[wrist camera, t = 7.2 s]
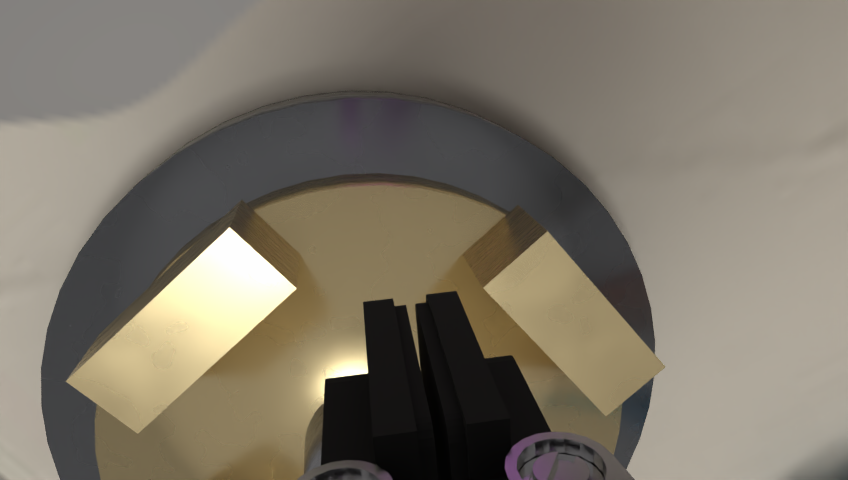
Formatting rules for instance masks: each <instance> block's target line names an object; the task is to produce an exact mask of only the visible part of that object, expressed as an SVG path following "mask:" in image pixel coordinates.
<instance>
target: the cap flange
mask: <svg viewBox="0 0 848 480" xmlns="http://www.w3.org/2000/svg"><path fill="white" fill-rule="evenodd" d="M370 173H384V174H395V175H406V176H416V177H420V178H425V179H429V180H433V181H438V182H442V183H447V184H450V185H453V186H455V187H458V188H461V189H463V190H466V191H469V192H472V193H474V194H477V195H480V196H481V197H483V198H485V199H487V200H489V201H491V202H493V203H494V204H496V205H498V206H500V207H502V208H504V209H506V210H508V211H509V212H510V211H511V210H512V209H514V208H515V207H516V206H517V205H519V206H520V207H521V208H522V209H523V210H524V211H526V212H527V213H528V214H529V215H530V216H531V217H532V218H533V219H535V220H536V221H537V222H538V223H539V224H540V225H541V226H542V227H544V228H545V229H546V230H547V231H548V232H549V233H550V234H551V236H552V237H553V238H554V239H555V240H556V241H557V243H558V244H559V245H560V246H561V247H562V248H563V249H564V251H565V252H566V253H567V254H568V255H569V256H570V258H571V259H572V260H573V261H574V262H575V263H576V264H577V266H578V267H579V268H580V269H581V270H582V271H583V273H584V274H585V275H586V276H587V277H588V278H589V279H590V281H591V282H592V283H593V284H594V285H595V286H596V287H597V289H598V290H599V291H600V292H601V293H602V294H603V296H604V297H605V298H606V299H607V300H608V301H609V302H610V304H611V305H612V306H613V307H614V308H615V309H616V311H617V312H618V313H619V314H620V315H621V316H622V317H623V319H624V320H625V321H626V322H627V323H628V324H629V326H630V327H631V328H632V329H633V330H634V331H635V332H636V334H637V335H638V336H639V337H640V338H641V339H642V340H643V342H644V343H645V344H646V345H647V346H648V347H649V349H650V350H651V351H652V352H653V353H654V354H655V338H654V330H653V322H652V314H651V307H650V303H649V300H648V296H647V292H646V289H645V285H644V281H643V278H642V274H641V272H640V270H639V268H638V265H637V263H636V261H635V259H634V256H633V254H632V252H631V249H630V247H629V245H628V243H627V241H626V240H625V238H624V236H623V235H622V233H621V232H620V230H619V228H618V227H617V225H616V224H615V222H614V221H613V219H612V217H611V216H610V214H609V213H608V211H607V210H606V209H605V208H604V207H603V206H602V204H601V203H600V202H599V201H598V200H597V199H596V198H595V196H594V195H593V194H592V193H591V192H590V191H589V189H588V188H587V187H586V186H585V185H584V184H583V183H582V182H581V181H580V180H579V179H577V178H576V177H575V176H574V175H573V174H572V173H571V172H569V171H568V170H567V169H566V168H565V167H564V166H562V165H561V164H560V163H559V162H558V161H557V160H555V159H554V158H553V157H551V156H550V155H548V154H546V153H545V152H543V151H542V150H540V149H539V148H537V147H535V146H534V145H532V144H531V143H529V142H528V141H526V140H524V139H523V138H521V137H520V136H518V135H516V134H514V133H512V132H511V131H509V130H507V129H505V128H503V127H501V126H500V125H498V124H495V123H493V122H491V121H489V120H487V119H484V118H482V117H480V116H478V115H476V114H473V113H471V112H469V111H467V110H465V109H462V108H458V107H455V106H451V105H448V104H445V103H441V102H438V101H435V100H431V99H428V98H423V97H416V96H410V95H403V94H397V93H390V92H365V91H343V92H334V93H325V94H316V95H308V96H302V97H298V98H294V99H290V100H286V101H282V102H278V103H274V104H270V105H266V106H263V107H260V108H258V109H255V110H253V111H250V112H248V113H245V114H243V115H240V116H238V117H236V118H233V119H231V120H228V121H226V122H224V123H222V124H220V125H218V126H217V127H215V128H213V129H211V130H210V131H208V132H206V133H204V134H203V135H201V136H199V137H197V138H196V139H194V140H192V141H190V142H189V143H187V144H186V145H185V146H183V147H182V148H181V149H180V150H178V151H177V152H176V153H174V154H173V155H172V156H171V157H169V158H168V159H167V160H165V161H164V162H163V163H161V164H160V165H159V166H158V167H156V168H155V169H154V170H153V171H152V172H151V173H149V174H148V175H147V176H146V177H145V178H144V179H142V180H141V181H140V182H139V183H138V184H137V185H136V186H135V187H134V188H133V189H132V190H131V191H130V192H129V193H128V194H127V195H126V196H125V197H124V198H123V199H122V200H121V201H120V202H119V203H118V204H117V205H116V206H115V207H114V208H113V209H112V210H111V211H110V212H109V213H108V214H107V215H106V216H105V218H104V219H103V220H102V222H101V223H100V224H99V226H98V227H97V229H96V230H95V231H94V233H93V234H92V236H91V237H90V238H89V240H88V241H87V243H86V244H85V245H84V247H83V248H82V250H81V251H80V252H79V254H78V256H77V258H76V260H75V262H74V264H73V266H72V268H71V270H70V272H69V274H68V276H67V278H66V280H65V282H64V283H63V285H62V287H61V289H60V292H59V295H58V298H57V301H56V304H55V307H54V310H53V313H52V316H51V320H50V323H49V326H48V329H47V335H46V341H45V348H44V354H43V360H42V367H41V395H42V412H43V418H44V424H45V429H46V435H47V441H48V445H49V448H50V451H51V454H52V457H53V460H54V463H55V466H56V469H57V472H58V475H59V478H60V480H101V479H100V474H99V469H98V463H97V458H96V453H95V414H96V407H97V404H96V403H95V402H93V401H92V400H91V399H89V398H88V397H86V396H85V395H84V394H82V393H81V392H79V391H78V390H77V389H75V388H74V387H73V386H71V385H70V384H68V383H67V382H66V380H67V379H68V377H69V376H70V375H71V373H72V372H73V370H74V369H75V368H76V366H77V365H78V363H79V362H80V361H81V359H82V358H83V356H84V355H85V354H86V352H87V351H88V349H89V348H90V347H91V345H92V344H93V342H94V341H95V340H96V338H97V337H98V335H99V334H100V333H101V332H102V331H103V330H104V329H105V328H106V327H107V326H108V325H109V324H110V323H112V322H113V321H114V320H115V319H116V318H117V317H118V316H119V315H120V314H121V313H122V312H123V311H124V310H125V309H126V308H127V307H128V306H130V305H131V304H132V303H133V302H134V301H135V300H136V299H137V298H138V297H139V296H140V295H141V294H142V293H143V292H144V291H145V290H146V289H148V288H149V286H150V285H151V284H152V282H153V281H154V279H155V278H156V276H157V275H158V273H159V272H160V271H161V270H162V269H163V268H164V267H165V266H166V264H167V263H168V262H169V261H170V260H171V259H172V258H173V257H174V256H175V255H176V254H177V252H178V251H179V250H180V249H181V248H182V247H183V246H184V245H186V244H187V243H188V242H189V241H191V240H192V239H193V238H194V237H195V236H197V235H198V234H199V233H200V232H201V231H203V230H204V229H205V228H206V227H208V226H209V225H210V224H212V223H213V222H215V221H217V220H218V219H220V218H221V217H223V216H225V215H226V214H227V213H228V212H229V211H230V210H231V209H232V208H233V207H234V206H235V205H236V204H238V203H239V202H240V201H241V200H243V201H244V202H245V203H248V202H250V201H252V200H254V199H257V198H259V197H261V196H263V195H266V194H268V193H270V192H272V191H275V190H278V189H282V188H285V187H288V186H292V185H295V184H298V183H302V182H305V181H308V180H314V179H320V178H326V177H332V176H338V175H344V174H370ZM653 379H654V377H653V378H652V379H650V380H649V381H648V382H647V383H646V384H644V385H643V386H642V387H641V388H640V389H638V390H637V391H636V392H635V393H634V394H632V395H631V396H630V397H629V398H628V399H626V400H625V401H624V402H623V403H622V412H621V421H620V431H619V435H618V439H617V444H616V448H615V452H614V457H615V458H616V459H617V460H618V461H619V462H620V464H621V465H622V466H623V467H624V468H625V469H627V466H628V464H629V462H630V459H631V457H632V455H633V453H634V450H635V448H636V446H637V444H638V441H639V439H640V436H641V432H642V429H643V426H644V422H645V419H646V416H647V412H648V409H649V404H650V398H651V392H652V385H653Z"/></svg>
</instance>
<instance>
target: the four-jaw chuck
mask: <svg viewBox="0 0 848 480" xmlns="http://www.w3.org/2000/svg"><path fill="white" fill-rule="evenodd" d="M451 291H457V293H458V296H459V298H460V300H461V303H462V305H463V307H464V310H465V312H466V315H467V317H468V319H469V322H470V324H471V327H472V329H473V331H474V334H475V336H476V339H477V341H478V343H479V346H480V348H481V351H482V353H483V355H484V358H492V357H500V356H508V355H511V356H513V357H514V359H515V361H516V363H517V365H518V367H519V369H520V370H521V372H522V374H523V376H524V378H525V380H526V382H527V384H528V386H529V388H530V390H531V392H532V394H533V396H534V398H535V400H536V402H537V404H538V406H539V408H540V410H541V412H542V414H543V416H544V418H545V420H546V422H547V424H548V426H549V428H550V430H551V432H568V433H573V434H577V435H581V436H585V437H588V438H590V439H592V440H594V441H596V442H598V443H600V444H601V445H602V446H604V447H605V448H606V449H607V450H608V451H609V452H611V453H612V454H613V456H614V452H615V448H616V444H617V439H618V435H619V431H620V421H621V412H622V403H623V402H624V401H625V400H626V399H628V398H629V397H630V396H631V395H632V394H634V393H635V392H636V391H637V390H638V389H640V388H641V387H642V386H643V385H644V384H646V383H647V382H648V381H649V380H650V379H652V378H653V377H654V376H655V375H656V374H658V373H659V372H660V371H661V370H662V369H664V368H665V366H664V365H663V364H662V362H661V361H660V360H659V359H658V358H657V357H656V355H655V354H654V353H653V352H652V351H651V350H650V349H649V347H648V346H647V345H646V344H645V343H644V342H643V340H642V339H641V338H640V337H639V336H638V335H637V334H636V332H635V331H634V330H633V329H632V328H631V327H630V326H629V324H628V323H627V322H626V321H625V320H624V319H623V317H622V316H621V315H620V314H619V313H618V312H617V311H616V309H615V308H614V307H613V306H612V305H611V304H610V302H609V301H608V300H607V299H606V298H605V297H604V296H603V294H602V293H601V292H600V291H599V290H598V289H597V287H596V286H595V285H594V284H593V283H592V282H591V281H590V279H589V278H588V277H587V276H586V275H585V274H584V273H583V271H582V270H581V269H580V268H579V267H578V266H577V264H576V263H575V262H574V261H573V260H572V259H571V258H570V256H569V255H568V254H567V253H566V252H565V251H564V249H563V248H562V247H561V246H560V245H559V244H558V243H557V241H556V240H555V239H554V238H553V237H552V236H551V234H550V233H549V232H548V231H547V230H546V229H545V228H544V227H542V226H541V225H540V224H539V223H538V222H537V221H536V220H535V219H533V218H532V217H531V216H530V215H529V214H528V213H527V212H526V211H524V210H523V209H522V208H521V207H520V206H519V205H517V206H516V207H515V208H514V209H512V210H511V211H510V212H509V211H508V210H506V209H504V208H502V207H500V206H498V205H496V204H494V203H493V202H491V201H489V200H487V199H485V198H483V197H481V196H480V195H477V194H474V193H472V192H469V191H466V190H463V189H461V188H458V187H455V186H453V185H450V184H447V183H442V182H438V181H433V180H429V179H425V178H420V177H416V176H406V175H395V174H384V173H370V174H344V175H338V176H332V177H326V178H320V179H314V180H308V181H305V182H302V183H298V184H295V185H292V186H288V187H285V188H282V189H278V190H275V191H272V192H270V193H268V194H266V195H263V196H261V197H259V198H257V199H254V200H252V201H250V202H248V203H245V202H244V201H243V200H241V201H240V202H239V203H238V204H236V205H235V206H234V207H233V208H232V209H231V210H230V211H229V212H228V213H227V214H226V215H225V216H223V217H221V218H220V219H218V220H217V221H215V222H213V223H212V224H210V225H209V226H208V227H206V228H205V229H204V230H203V231H201V232H200V233H199V234H198V235H197V236H195V237H194V238H193V239H192V240H191V241H189V242H188V243H187V244H186V245H184V246H183V247H182V248H181V249H180V250H179V251H178V252H177V254H176V255H175V256H174V257H173V258H172V259H171V260H170V261H169V262H168V263H167V264H166V266H165V267H164V268H163V269H162V270H161V271H160V272H159V273H158V275H157V276H156V278H155V279H154V281H153V282H152V284H151V285H150V286H149V288H148V289H146V290H145V291H144V292H143V293H142V294H141V295H140V296H139V297H138V298H137V299H136V300H135V301H134V302H133V303H132V304H131V305H130V306H128V307H127V308H126V309H125V310H124V311H123V312H122V313H121V314H120V315H119V316H118V317H117V318H116V319H115V320H114V321H113V322H112V323H110V324H109V325H108V326H107V327H106V328H105V329H104V330H103V331H102V332H101V333H100V334H99V335H98V337H97V338H96V340H95V341H94V342H93V344H92V345H91V347H90V348H89V349H88V351H87V352H86V354H85V355H84V356H83V358H82V359H81V361H80V362H79V363H78V365H77V366H76V368H75V369H74V370H73V372H72V373H71V375H70V376H69V377H68V379H67V380H66V382H67V383H68V384H70V385H71V386H73V387H74V388H75V389H77V390H78V391H79V392H81V393H82V394H84V395H85V396H86V397H88V398H89V399H91V400H92V401H93V402H95V403H96V404H97V407H96V414H95V453H96V458H97V463H98V469H99V474H100V479H101V480H297V479H298V478H299V477H300V476H302V475H304V474H305V473H307V472H309V471H310V470H312V469H314V468H316V467H319V466H321V450H322V429H323V408H324V387H325V379H327V378H335V377H342V376H350V375H358V374H366V373H368V365H367V351H366V337H365V324H364V310H363V302H366V301H374V300H383V299H391V298H393V301H394V306H400V305H406V307H407V312H408V316H409V321H410V325H411V330H412V334H413V339H414V343H415V348H416V352H417V357H418V361H419V366H420V358H419V346H418V335H417V323H416V311H415V304H417V303H425V302H426V294H434V293H442V292H451ZM420 370H421V369H420Z"/></svg>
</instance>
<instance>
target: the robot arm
mask: <svg viewBox="0 0 848 480" xmlns="http://www.w3.org/2000/svg"><path fill="white" fill-rule="evenodd" d="M363 310H364V324H365V337H366V351H367V365H368V373H366V374H358V375H350V376H342V377H335V378H327V379H325V387H324V408H323V429H322V450H321V466H319V467H316V468H314V469H312V470H310V471H309V472H307V473H305V474H304V475H302V476H300V477H299V478H298V479H297V480H635V479H634V478H633V477H632V476H631V475H630V474H629V473H628V471H627V470H626V469H625V468H624V467H623V466H622V465H621V464H620V462H619V461H618V460H617V459H616V458H615V457H614V456H613V454H612V453H611V452H609V451H608V450H607V449H606V448H605V447H604V446H602V445H601V444H600V443H598V442H596V441H594V440H592V439H590V438H588V437H585V436H581V435H577V434H573V433H568V432H551V430H550V428H549V426H548V424H547V422H546V420H545V418H544V416H543V414H542V412H541V410H540V408H539V406H538V404H537V402H536V400H535V398H534V396H533V394H532V392H531V390H530V388H529V386H528V384H527V382H526V380H525V378H524V376H523V374H522V372H521V370H520V369H519V367H518V365H517V363H516V361H515V359H514V357H513V356H511V355H508V356H500V357H492V358H484V355H483V353H482V351H481V348H480V346H479V343H478V341H477V339H476V336H475V334H474V331H473V329H472V327H471V324H470V322H469V319H468V317H467V315H466V312H465V310H464V307H463V305H462V303H461V300H460V298H459V296H458V293H457V291H451V292H442V293H434V294H426V302H425V303H417V304H415V311H416V323H417V335H418V346H419V358H420V366H419V361H418V357H417V352H416V348H415V343H414V339H413V334H412V330H411V325H410V321H409V316H408V312H407V307H406V305H400V306H394V301H393V298H391V299H383V300H374V301H366V302H363ZM420 369H421V370H420Z"/></svg>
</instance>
